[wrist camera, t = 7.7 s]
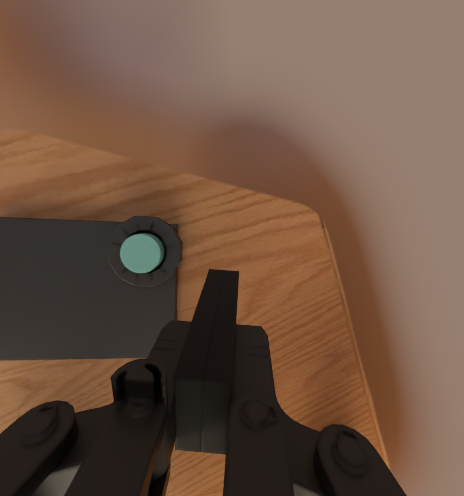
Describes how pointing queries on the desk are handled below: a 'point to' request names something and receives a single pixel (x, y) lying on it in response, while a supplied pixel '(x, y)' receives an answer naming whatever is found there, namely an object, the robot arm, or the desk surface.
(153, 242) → the button
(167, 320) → the scale
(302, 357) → the desk surface
